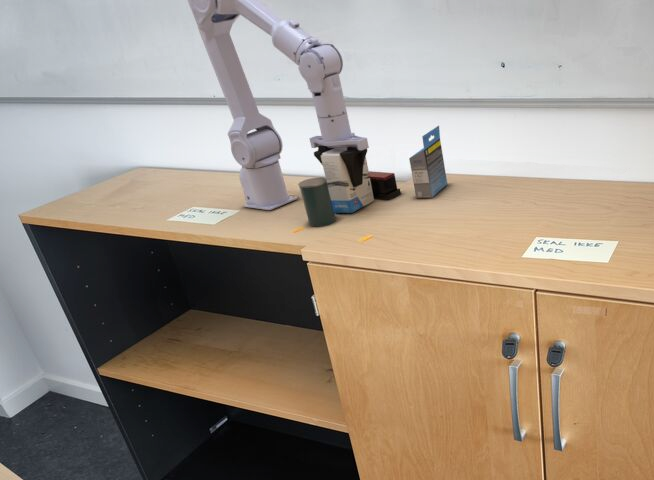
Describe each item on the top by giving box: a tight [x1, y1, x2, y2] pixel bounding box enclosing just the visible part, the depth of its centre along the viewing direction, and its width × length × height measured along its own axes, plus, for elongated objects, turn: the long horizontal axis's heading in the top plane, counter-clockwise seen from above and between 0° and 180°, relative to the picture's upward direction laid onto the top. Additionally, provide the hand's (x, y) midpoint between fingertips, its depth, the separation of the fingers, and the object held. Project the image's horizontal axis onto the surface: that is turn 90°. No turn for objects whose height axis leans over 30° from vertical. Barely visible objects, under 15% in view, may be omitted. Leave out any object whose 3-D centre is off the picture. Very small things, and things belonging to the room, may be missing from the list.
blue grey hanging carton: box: [408, 125, 448, 199], centre depth 139 cm, size 9×4×12 cm, turn 160°
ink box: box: [321, 148, 375, 214], centre depth 137 cm, size 9×5×12 cm, turn 153°
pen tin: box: [298, 176, 337, 228], centre depth 132 cm, size 5×5×8 cm
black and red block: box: [368, 170, 402, 201], centre depth 144 cm, size 12×4×5 cm, turn 53°
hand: (347, 184), depth 137 cm, fingers closed on ink box, 5 cm apart
